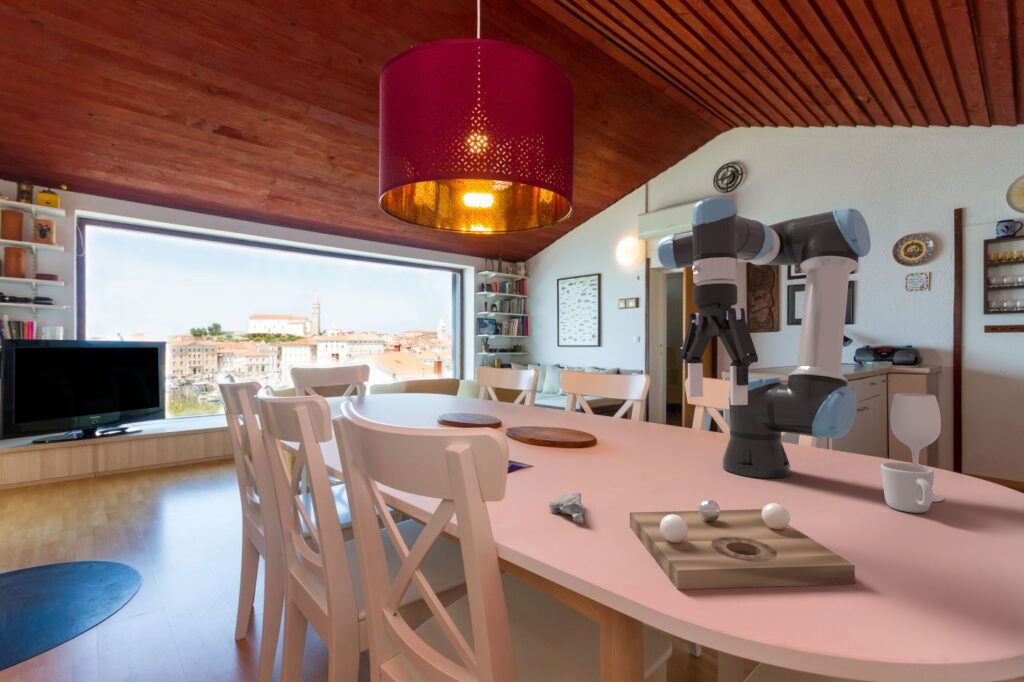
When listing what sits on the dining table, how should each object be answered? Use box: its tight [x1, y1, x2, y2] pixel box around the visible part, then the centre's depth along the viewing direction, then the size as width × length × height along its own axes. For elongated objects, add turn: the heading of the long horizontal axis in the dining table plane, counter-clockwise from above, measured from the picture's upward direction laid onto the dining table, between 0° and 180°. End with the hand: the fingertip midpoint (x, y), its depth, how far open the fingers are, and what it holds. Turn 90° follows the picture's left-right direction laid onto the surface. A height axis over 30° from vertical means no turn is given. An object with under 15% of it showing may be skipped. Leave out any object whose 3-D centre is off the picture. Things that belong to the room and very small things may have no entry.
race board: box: [629, 508, 856, 590], centre depth 75 cm, size 22×24×2 cm
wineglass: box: [889, 392, 945, 503], centre depth 102 cm, size 9×9×21 cm
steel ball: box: [697, 499, 721, 522], centre depth 81 cm, size 4×4×4 cm
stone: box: [548, 492, 586, 524], centre depth 93 cm, size 6×12×4 cm, turn 177°
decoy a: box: [762, 502, 791, 530], centre depth 78 cm, size 4×4×4 cm
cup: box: [880, 462, 935, 514], centre depth 92 cm, size 11×8×8 cm
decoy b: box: [660, 514, 688, 543], centre depth 73 cm, size 4×4×4 cm
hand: (715, 400), depth 89 cm, fingers open, 13 cm apart
